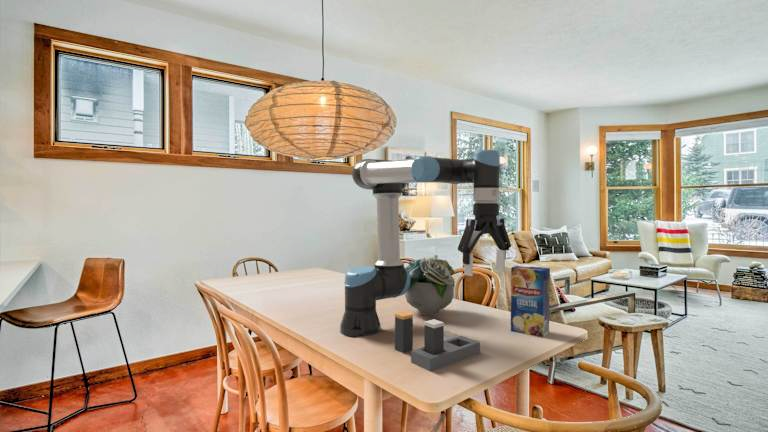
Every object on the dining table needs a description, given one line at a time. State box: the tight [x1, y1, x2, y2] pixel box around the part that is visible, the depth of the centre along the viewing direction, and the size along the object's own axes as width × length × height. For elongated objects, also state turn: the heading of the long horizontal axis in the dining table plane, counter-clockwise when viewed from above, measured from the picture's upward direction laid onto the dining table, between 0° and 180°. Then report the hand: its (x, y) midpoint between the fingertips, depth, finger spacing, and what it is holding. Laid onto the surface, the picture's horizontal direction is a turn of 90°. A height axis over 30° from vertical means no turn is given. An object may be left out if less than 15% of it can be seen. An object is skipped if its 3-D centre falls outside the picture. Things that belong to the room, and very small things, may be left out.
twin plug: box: [423, 318, 445, 355], centre depth 120 cm, size 4×4×12 cm
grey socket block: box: [410, 335, 481, 372], centre depth 124 cm, size 8×22×4 cm, turn 128°
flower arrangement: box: [404, 257, 456, 316], centre depth 176 cm, size 25×25×24 cm
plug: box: [394, 311, 414, 354], centre depth 130 cm, size 4×4×12 cm
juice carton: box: [510, 264, 551, 338], centre depth 151 cm, size 12×8×24 cm, turn 53°
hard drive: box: [444, 331, 459, 341], centre depth 144 cm, size 2×8×12 cm
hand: (484, 273), depth 122 cm, fingers open, 13 cm apart
